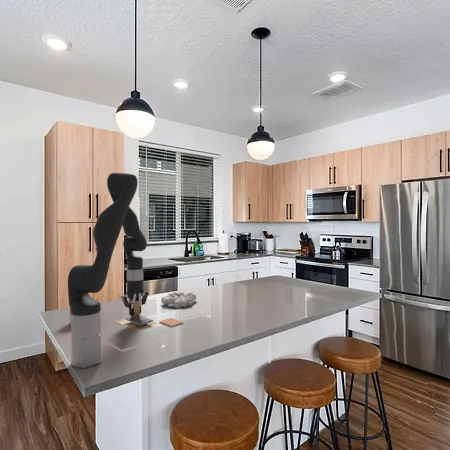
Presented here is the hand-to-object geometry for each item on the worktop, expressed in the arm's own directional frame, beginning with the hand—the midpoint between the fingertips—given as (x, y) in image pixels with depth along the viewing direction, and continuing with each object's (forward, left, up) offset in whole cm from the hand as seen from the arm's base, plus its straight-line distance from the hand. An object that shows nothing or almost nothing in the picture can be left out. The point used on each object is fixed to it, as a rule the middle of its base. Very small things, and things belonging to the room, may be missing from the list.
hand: (135, 314), depth 149 cm
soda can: (+21, +18, -4) cm, 28 cm away
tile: (-9, -11, -4) cm, 15 cm away
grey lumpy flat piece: (+14, -37, -5) cm, 40 cm away
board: (-1, 0, -4) cm, 4 cm away
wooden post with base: (-3, 0, -2) cm, 4 cm away
